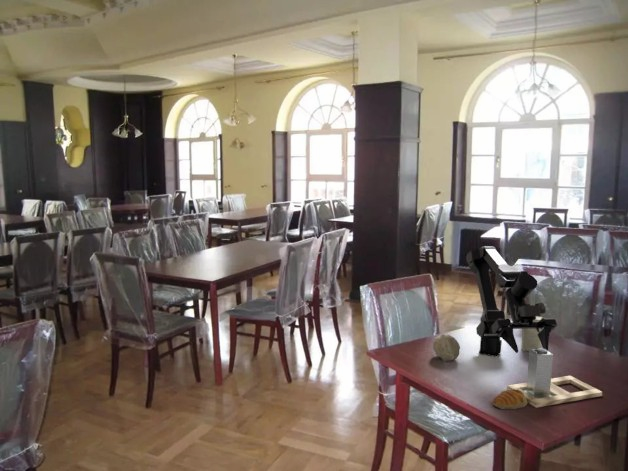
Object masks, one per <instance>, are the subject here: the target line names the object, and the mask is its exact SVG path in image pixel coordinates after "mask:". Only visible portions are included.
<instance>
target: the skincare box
mask: <svg viewBox="0 0 628 471" xmlns="http://www.w3.org/2000/svg"><path fill="white" fill-rule="evenodd" d="M542 318H544V317H543V316H536V319H535V320H533V322H539V321H540V320H541V319H542ZM538 333H539V332H538V331H537V329H522V330H521V349H520V350H522V351H527V352H529V350H530V349H535V348H542V344H541V342H540V339H539V337H538V335H537V334H538Z"/></svg>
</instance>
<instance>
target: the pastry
mask: <svg viewBox="0 0 628 471" xmlns="http://www.w3.org/2000/svg"><path fill="white" fill-rule="evenodd" d="M492 401H493V404H492V405H493V406H495V407H496V408H499V409H501V410H515V409H521V408H524V407H525V406H527V405H528V402H527V400H526V398H525V396H524V393H523V392H522V391H520V390H518V389H516V390H515V389H512V390H503V391H501V392H500V393H499V394H497V395H496V396H495V397H494V398H493V399H492Z"/></svg>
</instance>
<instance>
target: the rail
mask: <svg viewBox="0 0 628 471" xmlns="http://www.w3.org/2000/svg"><path fill="white" fill-rule="evenodd" d="M565 384H571V385H573V386H574V387H577V388H579V389H580V391H574V392H570V391H567V390H565V389H564V388H562V387H560V386H561V385H565ZM526 388H527V381H526V382H521V383H514V384H507V385H506V391H508V390H512V389H515V390H516V389H518V390H520V391H522V392H523V393H524V396H525V398H526V400H527V404H529V405H531V406H533V407H535V408H542V407H546V406H552V405H559V404H564V403H569V402H575V401H580V400H582V401H583V400H585V399H592V398H598V397H603V391H601V390H600V389H598V388H596V387H593V386H592V385H590V384H588V383H586V382H583V381H582V380H580V379H578V378H576V377H574V376H572V375H565V376H560V377H553V378H552V377H551V385H550V397H545V398H535V397H533V396H531V395H530V394H529V393H528V392H527V391H526ZM581 390H582V391H581Z"/></svg>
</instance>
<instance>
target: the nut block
mask: <svg viewBox="0 0 628 471" xmlns="http://www.w3.org/2000/svg"><path fill="white" fill-rule="evenodd" d="M553 358H554V354H553V353H552V352H550V351H549V350H548V351H547V350H546V349H544V348H543V347H541V348H535V349H530V350H529V351H528V366H527V375H526V376H527V378H526V382H527V388H526V391H527V392H528V393H529V394H530V395H531V396H533V397H535V398H545V397H550V385H551V379H552V370H553V361H554V360H553Z"/></svg>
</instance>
